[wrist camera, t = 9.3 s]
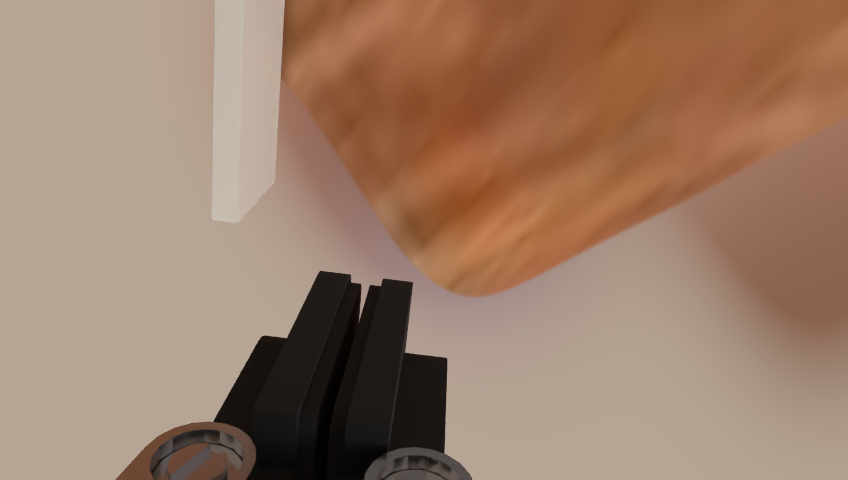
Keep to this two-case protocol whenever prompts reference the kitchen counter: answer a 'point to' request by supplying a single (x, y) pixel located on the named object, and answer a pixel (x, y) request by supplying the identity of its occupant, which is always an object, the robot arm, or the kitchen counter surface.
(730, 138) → the kitchen counter surface
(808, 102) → the kitchen counter surface
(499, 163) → the kitchen counter surface
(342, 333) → the robot arm
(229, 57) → the side door
